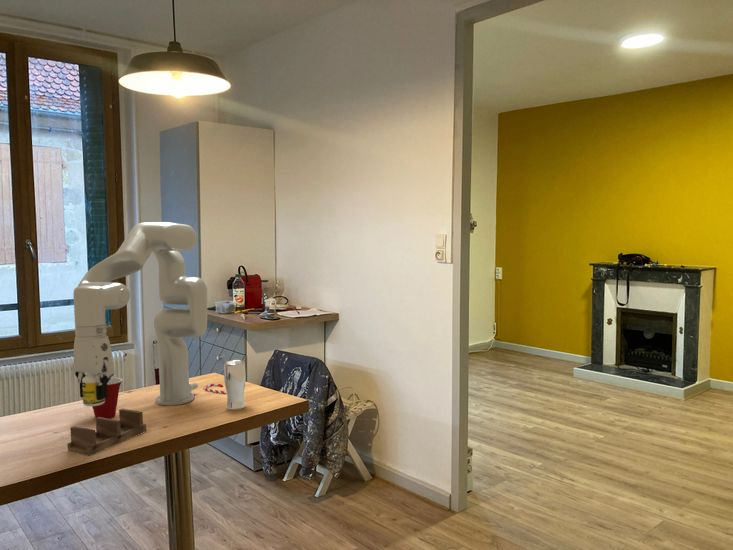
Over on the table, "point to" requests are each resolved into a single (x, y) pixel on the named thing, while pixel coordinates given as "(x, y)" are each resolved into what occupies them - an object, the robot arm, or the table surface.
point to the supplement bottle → (90, 390)
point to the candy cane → (214, 390)
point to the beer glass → (235, 383)
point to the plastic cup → (109, 400)
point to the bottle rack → (106, 432)
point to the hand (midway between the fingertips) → (94, 396)
